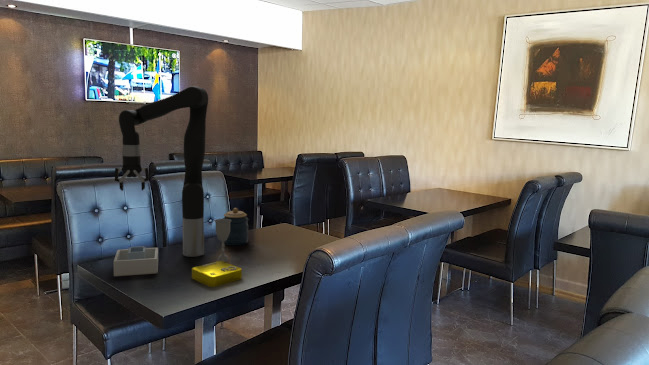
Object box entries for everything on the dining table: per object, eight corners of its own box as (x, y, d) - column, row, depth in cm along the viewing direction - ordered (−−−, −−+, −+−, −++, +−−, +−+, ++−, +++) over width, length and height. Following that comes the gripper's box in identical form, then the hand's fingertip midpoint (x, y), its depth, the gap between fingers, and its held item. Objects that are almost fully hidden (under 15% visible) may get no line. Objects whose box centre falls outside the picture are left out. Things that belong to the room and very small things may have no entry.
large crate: (158, 260, 202) (158, 247, 201) (157, 273, 187) (157, 258, 186) (118, 263, 197) (117, 249, 196) (113, 276, 182) (113, 261, 181)
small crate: (145, 262, 197) (145, 246, 196) (144, 268, 189) (144, 251, 188) (130, 263, 195) (129, 247, 194) (128, 269, 187) (128, 252, 186)
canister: (217, 244, 231) (217, 209, 228) (229, 237, 243) (229, 204, 241) (241, 247, 227) (241, 211, 225) (252, 240, 239) (253, 206, 237)
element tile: (221, 270, 195) (221, 258, 194) (244, 279, 185) (244, 267, 184) (189, 278, 184) (189, 266, 183) (211, 288, 174) (211, 276, 173)
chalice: (214, 263, 202) (214, 222, 199) (214, 258, 208) (214, 218, 206) (232, 262, 204) (232, 222, 201) (230, 257, 210) (230, 218, 208)
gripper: (148, 154, 216) (149, 188, 218) (115, 154, 212) (116, 189, 214) (148, 155, 209) (148, 191, 211) (113, 155, 204) (114, 192, 207)
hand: (132, 190), depth 213 cm, fingers open, 8 cm apart
